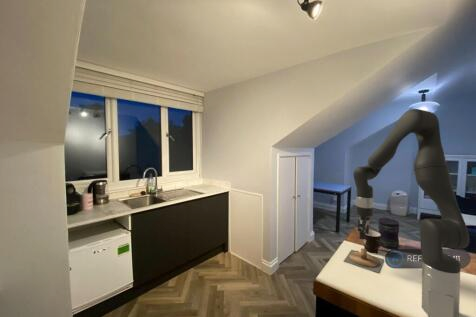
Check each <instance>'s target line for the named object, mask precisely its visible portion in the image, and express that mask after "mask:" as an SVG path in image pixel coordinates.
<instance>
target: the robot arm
mask: <svg viewBox="0 0 476 317" xmlns="http://www.w3.org/2000/svg"><path fill="white" fill-rule="evenodd" d="M410 134H415V135H414V136H415V137H416V141H417V146H418V149H417V154H416V156H415V159H414V161H413V171H414V176H415V180H416V183H417V185H418V186H419V187H420V189H421V191H423V192H424V193H425V194H426V195H427V196H428V197H429V198H430V199H431V201H432V202H433V203H434V204H435V205H436V207H437V208H438V211H439V213H440V216H441V218H440V219H439V218H424V219H423V220H421V222H420V225H419V236H420V239H419V240H420V241H419V242H420V253H421V256H422V265H421V268H422V269H421V270H422V271H421V308H422V310H423V309H424V310H423V311H424V312H425V314H426V315H428V317H429V316H431V317H460V299H461V298H460V294H461V293H460V292H461V268H462V267H461V263H460V261H459V260H458V259H457V258H455V257H453V256H451V255H449V254H447V253H444V251H443V248H446V249H447V248H448V249H467V248H468V246H469V244H470V233H469V231H468V228H467V225H466V222H465V220H464V216H463V215H462V212H461V209H460V207H459V204H458V202H457V198H456V195H455V191H454V187H453V183H452V180H451V179H452V178H451V175H450V174H451V173H450V170H449V166H448V164H447V160H446V156H445V153H444V152H445V151H444V148H443V144H442V141H441V140H442V139H441V130H440V122H439V117H438V116H437V115H436V114H435V113H433V112H432V111H428V110H423V109H419V108H413V109H412V108H411V109H409V110H407V111H405V112H404V113H403V114H402V115H401V116H400V117H399V119H398V120H397V122H395V125H394V126H393V127H392V129H391V131H389V133H388V135H387V136H386V138H385V139H384V141H383V142H382V143H381V144H380V146H379V147H378V148H377V149H376V150H375V151H374V152H373V153H372V154H371V156H369V157H368V159H367V165H364V166H358V167H356V168H355V169H354V171H353V175H352V176H353V180H354V184H355V187H356V198H355V214H357V215H359V216H360V217H359V218H358V220H357V231H358V232H359V240H364V239H365V234H369V230H370V226H371V217H373V216H374V188H373V186H372V185H370V184H369V182H368V181H369V180H373V179H374V178H376V177H377V176H378V175H379V174H380V172H381V171H382V169H383V168H384V167H385V166H387V164H388V163H390V162H391V160H392V159H393V158H394V157H395V155H396V153H397V150H398V147H399V146H400V143H401V142H402V141H403V139H405V138H406V137H407V136H408V135H410Z"/></svg>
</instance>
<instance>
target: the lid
mask: <svg viewBox="0 0 476 317" xmlns="http://www.w3.org/2000/svg"><path fill="white" fill-rule="evenodd" d="M349 253H350V252H349ZM374 256H375V255H372V254H369V253H368V252H367V250H366V249H364V248H361V249H360V251H358V252H353V253H350V255H349V258H350V259H351V261H353V262H354V263H356V264H358V265H361V266H364V267H377V266H378V265H379V260H378V259H377V258H375V257H376V256H375V257H374Z"/></svg>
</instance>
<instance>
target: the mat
mask: <svg viewBox="0 0 476 317" xmlns="http://www.w3.org/2000/svg"><path fill="white" fill-rule="evenodd" d="M353 252H359V251H357V250H355V249H351V250H350V251H349V252H348V254H347V255H346V257H345V258H344V259H343V262H344V263H347V264H351V265H353V266H355V267H358V268H361V269H365V270H367V271H371V272H374V273H376V274H379V273H380V270H381V268H382V265H383V263H384V260H385V258H381V257H378V256H375V255H373V256H374V257H375V258H377V259H378V260H379V265H378V266H377V267H364V266H361V265H358V264H356V263H354V262H353V261H351V259H350V258H349V255H350V253H353Z"/></svg>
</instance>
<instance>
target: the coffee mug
mask: <svg viewBox="0 0 476 317" xmlns="http://www.w3.org/2000/svg"><path fill="white" fill-rule="evenodd" d="M380 236H381V234H380V233H379V231H375V230H371V229H369V234H365V239H364V240H363V239H362V240H363V249H366V250H367V253H371V254H378V253H379V249H380V247H381V246H380Z"/></svg>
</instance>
